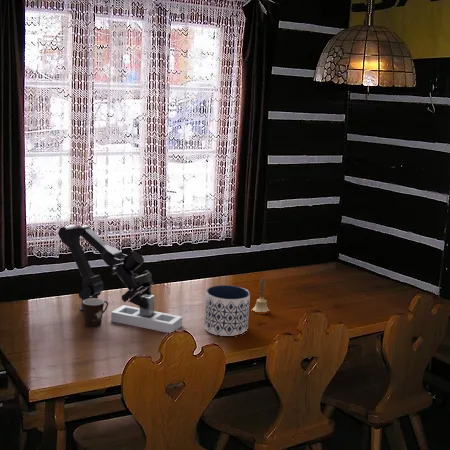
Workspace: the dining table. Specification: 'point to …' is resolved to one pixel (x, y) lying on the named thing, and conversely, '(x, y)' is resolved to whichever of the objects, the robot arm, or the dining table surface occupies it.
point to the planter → (226, 310)
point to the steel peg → (150, 305)
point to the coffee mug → (93, 311)
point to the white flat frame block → (146, 319)
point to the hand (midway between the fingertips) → (150, 306)
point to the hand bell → (261, 299)
